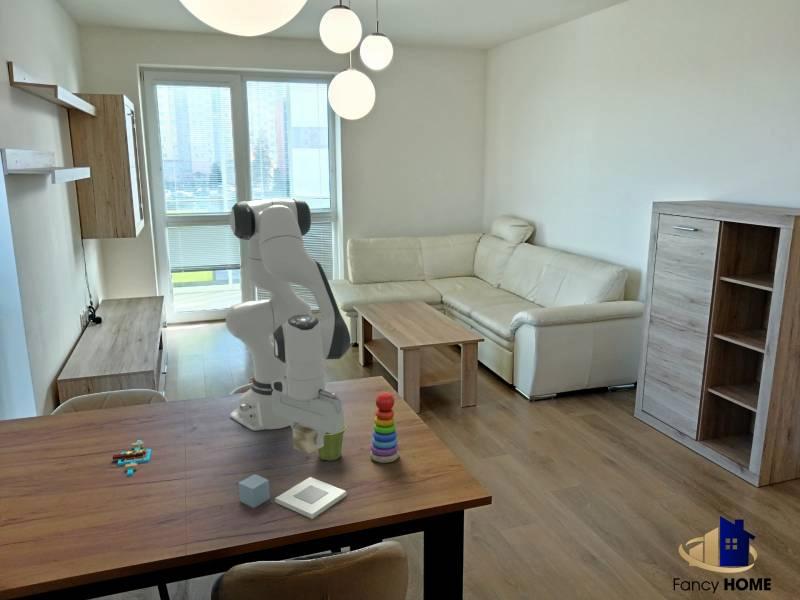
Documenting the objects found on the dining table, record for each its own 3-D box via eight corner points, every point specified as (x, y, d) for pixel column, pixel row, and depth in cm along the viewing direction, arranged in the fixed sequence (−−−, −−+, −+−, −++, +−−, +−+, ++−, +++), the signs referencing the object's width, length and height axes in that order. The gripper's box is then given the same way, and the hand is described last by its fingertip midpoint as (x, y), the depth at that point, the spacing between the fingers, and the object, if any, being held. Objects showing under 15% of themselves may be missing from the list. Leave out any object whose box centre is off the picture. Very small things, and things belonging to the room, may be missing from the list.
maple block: (293, 448, 143) (292, 428, 142) (308, 440, 147) (307, 421, 146) (309, 454, 140) (308, 434, 139) (323, 446, 144) (323, 426, 143)
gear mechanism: (107, 480, 157) (146, 475, 159) (104, 461, 155) (144, 456, 158) (119, 446, 175) (154, 442, 178) (117, 429, 174) (152, 425, 177)
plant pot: (319, 467, 162) (318, 437, 160) (308, 452, 170) (306, 423, 168) (352, 459, 166) (351, 430, 164) (339, 445, 174) (338, 417, 172)
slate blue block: (239, 501, 146) (238, 482, 145) (256, 492, 150) (254, 474, 149) (253, 508, 143) (252, 489, 142) (269, 498, 147) (268, 480, 146)
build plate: (275, 502, 145) (275, 497, 145) (310, 481, 155) (310, 476, 154) (312, 518, 138) (312, 513, 138) (346, 495, 148) (346, 490, 148)
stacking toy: (395, 465, 162) (395, 400, 158) (367, 462, 164) (365, 398, 160) (401, 452, 170) (401, 389, 166) (374, 449, 171) (372, 387, 167)
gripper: (349, 390, 137) (351, 447, 140) (285, 373, 148) (288, 426, 151) (330, 399, 132) (332, 458, 135) (265, 381, 143) (269, 435, 146)
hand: (308, 441), depth 143 cm, fingers closed on maple block, 5 cm apart
